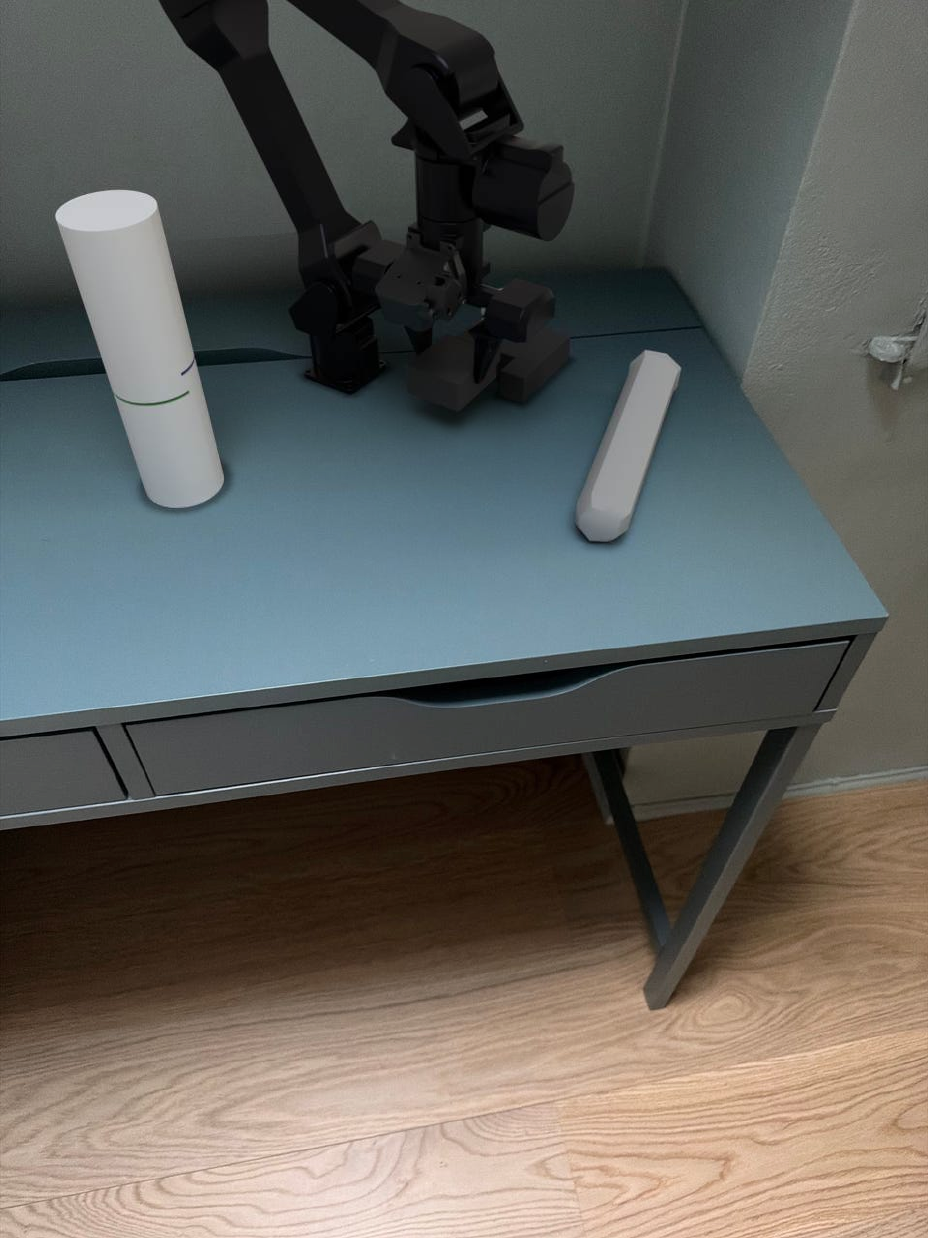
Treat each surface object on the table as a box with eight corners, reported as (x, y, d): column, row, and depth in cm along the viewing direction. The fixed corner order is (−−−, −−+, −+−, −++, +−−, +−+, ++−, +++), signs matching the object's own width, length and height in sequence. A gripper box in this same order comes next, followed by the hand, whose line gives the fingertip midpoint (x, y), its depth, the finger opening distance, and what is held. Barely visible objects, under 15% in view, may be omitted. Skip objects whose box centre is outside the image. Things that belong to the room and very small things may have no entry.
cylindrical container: (238, 468, 85) (176, 197, 67) (199, 514, 80) (120, 237, 62) (172, 453, 87) (93, 184, 68) (130, 498, 82) (34, 222, 64)
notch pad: (441, 375, 96) (440, 350, 94) (490, 334, 102) (490, 309, 99) (522, 404, 92) (524, 378, 90) (568, 360, 98) (571, 334, 96)
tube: (612, 563, 78) (665, 405, 94) (639, 523, 74) (690, 365, 90) (556, 536, 78) (619, 382, 94) (581, 494, 73) (642, 341, 89)
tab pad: (406, 392, 88) (404, 365, 85) (460, 348, 93) (460, 321, 91) (458, 412, 85) (458, 384, 83) (510, 364, 91) (511, 338, 89)
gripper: (302, 217, 75) (323, 381, 86) (495, 275, 68) (490, 445, 79) (381, 172, 81) (391, 331, 93) (564, 221, 74) (551, 385, 86)
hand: (451, 371), depth 87 cm, fingers closed on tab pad, 6 cm apart
